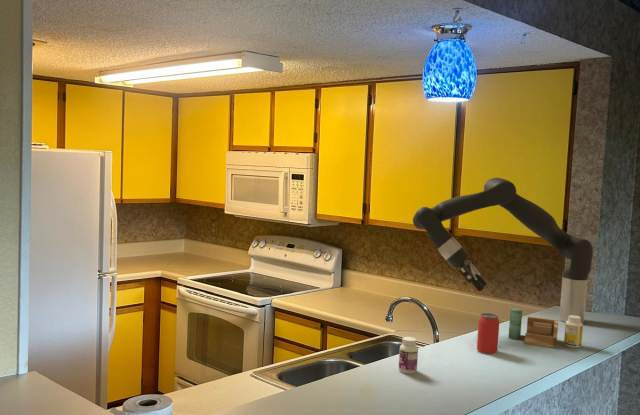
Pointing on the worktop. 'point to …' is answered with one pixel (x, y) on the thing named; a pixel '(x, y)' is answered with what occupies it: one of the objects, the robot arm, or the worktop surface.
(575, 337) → the supplement bottle
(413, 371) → the pill bottle
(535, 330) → the block
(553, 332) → the brown u-shaped block
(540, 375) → the worktop surface
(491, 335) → the beer can
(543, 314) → the worktop surface
